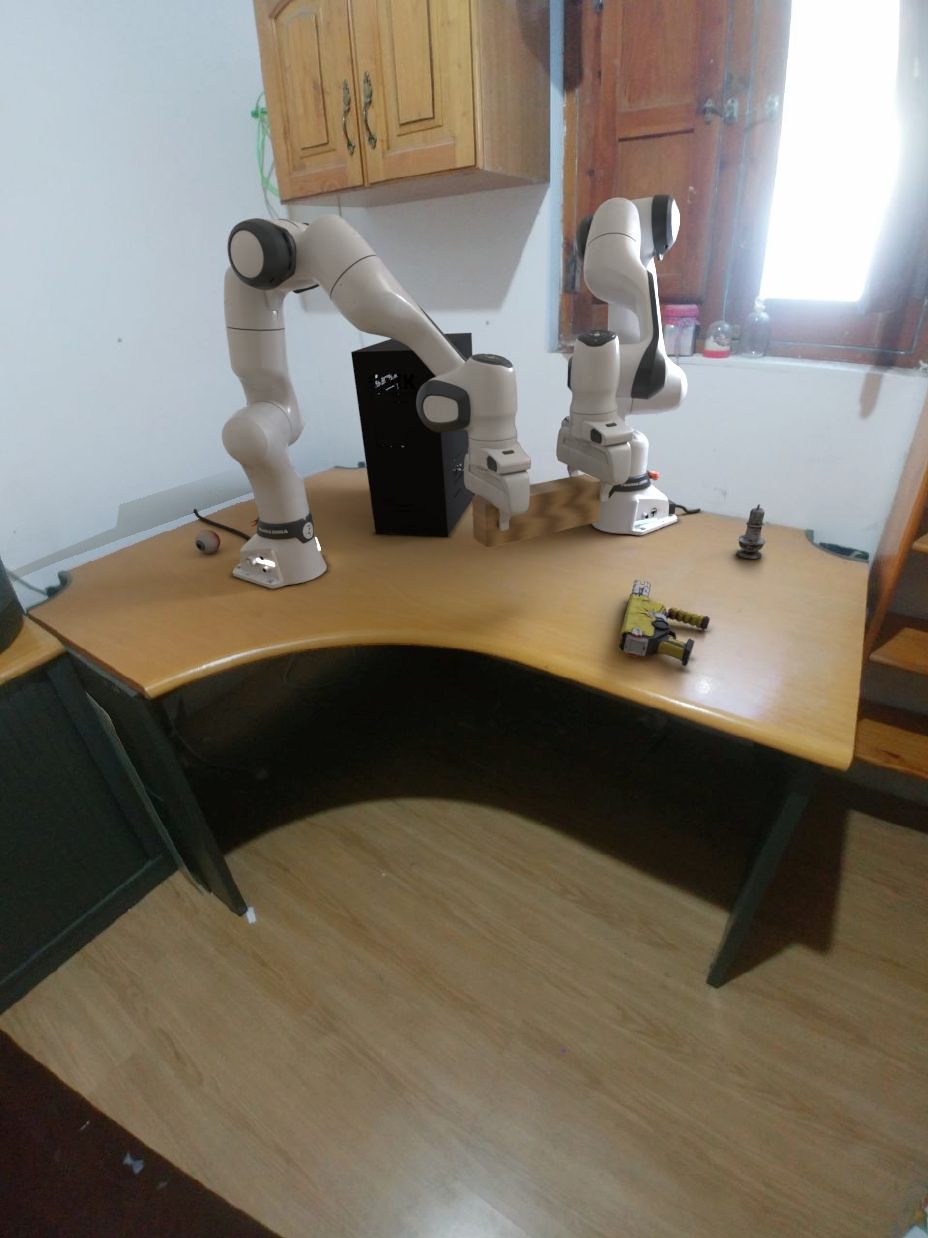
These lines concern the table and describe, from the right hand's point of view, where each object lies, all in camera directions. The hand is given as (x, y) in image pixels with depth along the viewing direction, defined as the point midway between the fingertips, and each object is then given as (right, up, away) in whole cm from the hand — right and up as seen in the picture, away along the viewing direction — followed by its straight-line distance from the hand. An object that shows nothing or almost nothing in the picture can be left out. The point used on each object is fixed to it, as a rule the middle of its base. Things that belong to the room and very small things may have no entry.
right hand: (588, 493), depth 123 cm
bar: (-11, -8, -2) cm, 13 cm away
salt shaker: (+40, -11, +16) cm, 45 cm away
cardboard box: (-35, +6, +53) cm, 64 cm away
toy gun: (+12, -28, -11) cm, 32 cm away
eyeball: (-91, -9, +34) cm, 98 cm away
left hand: (-20, -7, -7) cm, 22 cm away
